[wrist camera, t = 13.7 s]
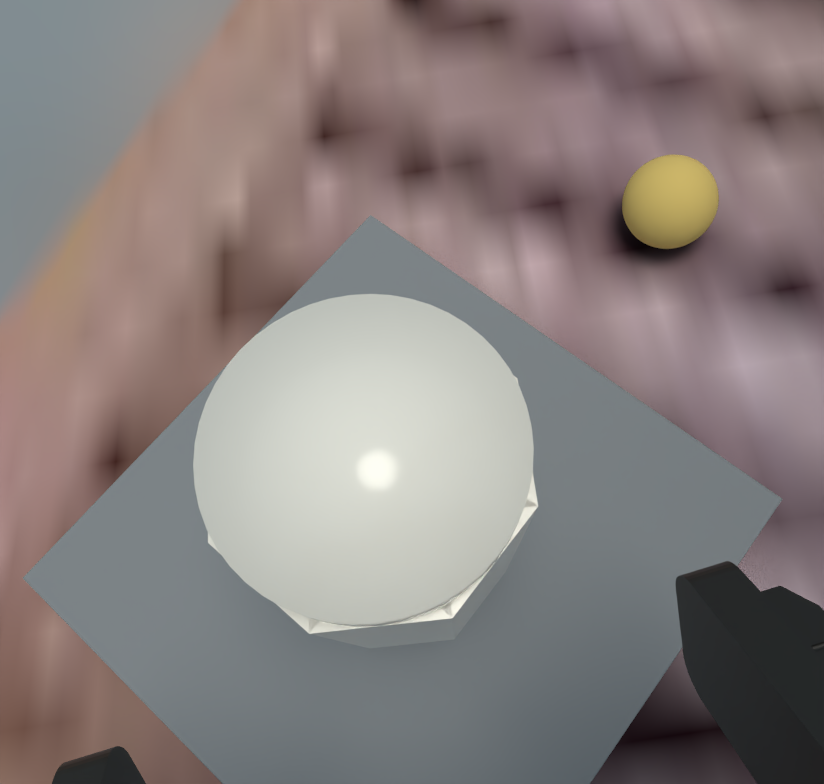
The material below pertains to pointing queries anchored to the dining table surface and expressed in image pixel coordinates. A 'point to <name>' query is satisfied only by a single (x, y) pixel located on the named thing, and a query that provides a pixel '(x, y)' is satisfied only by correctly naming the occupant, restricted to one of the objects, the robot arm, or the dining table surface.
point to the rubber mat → (433, 661)
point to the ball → (670, 201)
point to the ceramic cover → (367, 469)
